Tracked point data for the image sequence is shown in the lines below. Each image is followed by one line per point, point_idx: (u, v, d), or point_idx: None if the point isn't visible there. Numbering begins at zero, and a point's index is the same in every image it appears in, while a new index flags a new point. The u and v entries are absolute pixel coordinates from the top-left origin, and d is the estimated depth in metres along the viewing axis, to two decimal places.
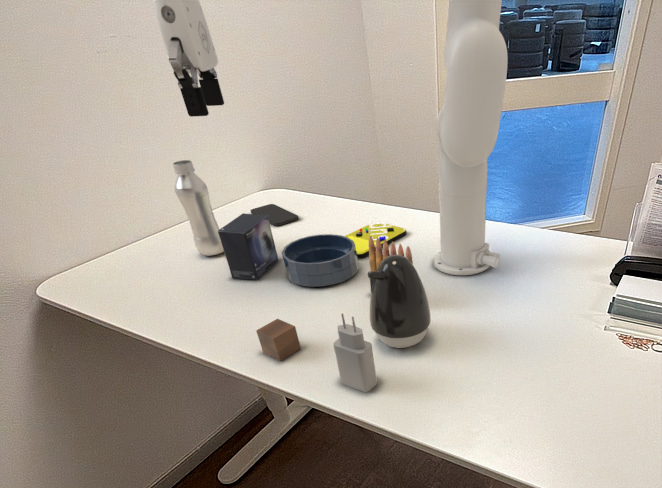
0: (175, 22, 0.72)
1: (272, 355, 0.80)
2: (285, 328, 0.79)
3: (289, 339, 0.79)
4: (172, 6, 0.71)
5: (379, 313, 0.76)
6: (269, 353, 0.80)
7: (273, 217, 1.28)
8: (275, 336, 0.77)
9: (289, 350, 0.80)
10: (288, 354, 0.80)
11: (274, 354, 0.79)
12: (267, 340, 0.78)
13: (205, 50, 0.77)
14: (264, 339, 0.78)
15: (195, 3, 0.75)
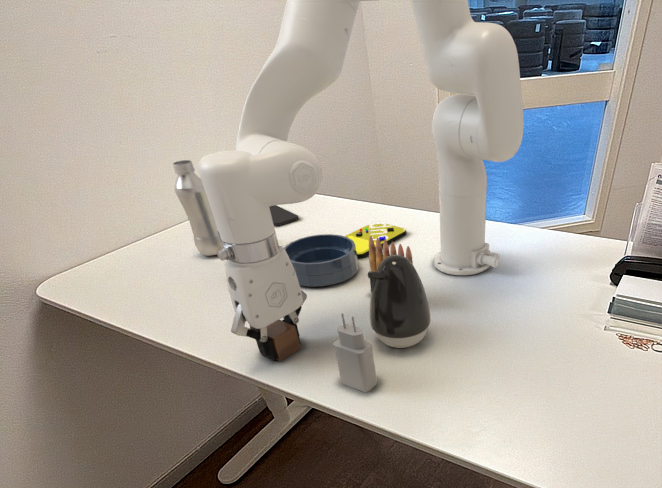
0: (236, 291, 0.70)
1: None
2: (285, 328, 0.79)
3: (289, 339, 0.79)
4: (234, 279, 0.68)
5: (379, 313, 0.76)
6: None
7: (273, 217, 1.28)
8: (275, 336, 0.77)
9: (289, 350, 0.80)
10: (288, 354, 0.80)
11: None
12: None
13: (273, 307, 0.73)
14: None
15: (272, 267, 0.71)
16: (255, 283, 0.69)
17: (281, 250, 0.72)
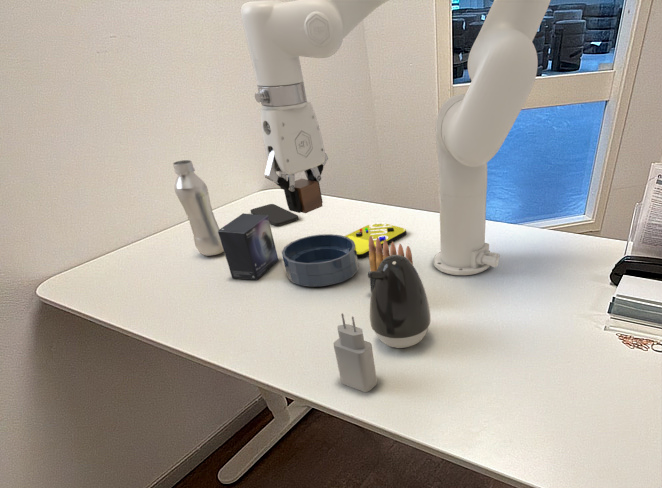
0: (270, 135, 0.80)
1: None
2: (309, 183, 0.89)
3: (313, 193, 0.90)
4: (269, 122, 0.79)
5: (379, 313, 0.76)
6: None
7: (273, 217, 1.28)
8: (301, 187, 0.87)
9: (312, 204, 0.91)
10: (312, 208, 0.91)
11: None
12: None
13: (301, 155, 0.84)
14: None
15: (301, 115, 0.81)
16: (286, 127, 0.80)
17: (308, 103, 0.82)
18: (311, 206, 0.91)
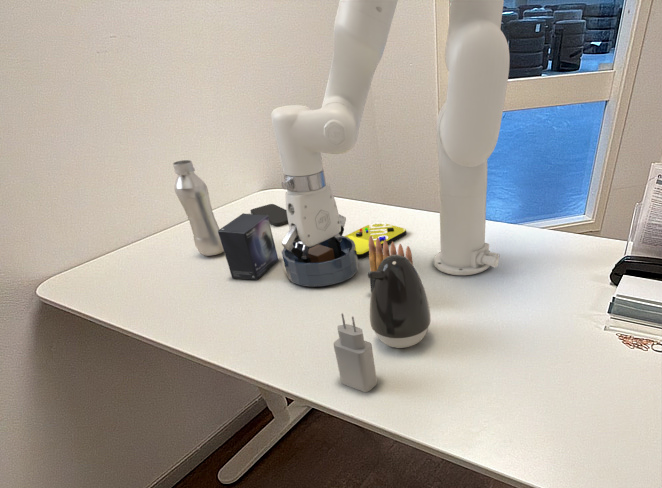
0: (294, 215, 0.92)
1: None
2: (325, 249, 1.01)
3: (328, 259, 1.01)
4: (293, 205, 0.91)
5: (379, 313, 0.76)
6: None
7: (273, 217, 1.28)
8: (318, 255, 0.99)
9: None
10: None
11: None
12: (311, 259, 1.00)
13: (320, 230, 0.96)
14: None
15: (320, 197, 0.93)
16: (308, 208, 0.92)
17: (326, 185, 0.94)
18: None
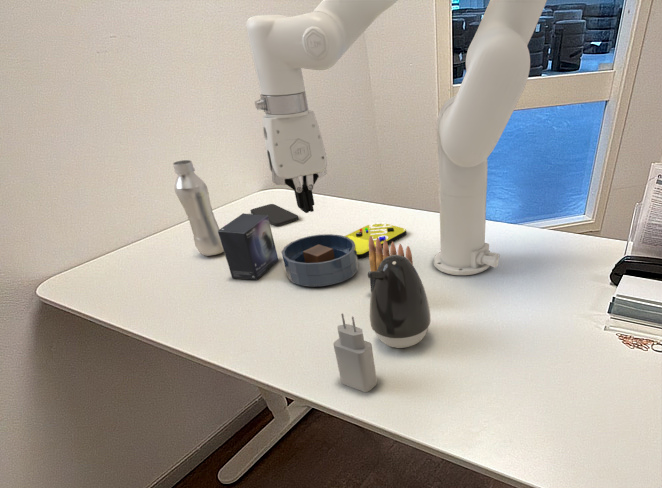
0: (267, 140, 0.85)
1: None
2: (325, 249, 1.01)
3: (328, 259, 1.01)
4: (266, 128, 0.84)
5: (379, 313, 0.76)
6: None
7: (273, 217, 1.28)
8: (318, 255, 0.99)
9: None
10: None
11: None
12: (311, 259, 1.00)
13: (296, 162, 0.88)
14: (309, 258, 1.00)
15: (299, 124, 0.85)
16: (281, 134, 0.84)
17: (310, 112, 0.85)
18: None
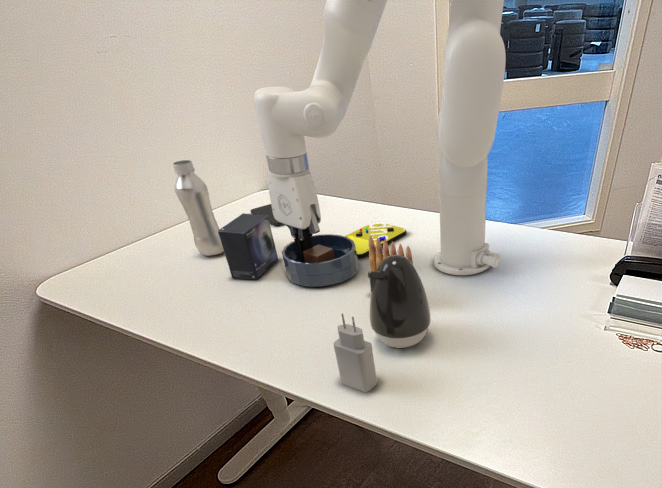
0: None
1: None
2: (325, 250, 1.01)
3: (328, 259, 1.01)
4: None
5: (379, 313, 0.76)
6: None
7: (273, 217, 1.28)
8: (318, 255, 0.99)
9: None
10: None
11: None
12: (311, 259, 1.00)
13: (282, 212, 0.96)
14: (309, 258, 1.00)
15: (282, 183, 0.92)
16: (272, 186, 0.94)
17: (294, 177, 0.90)
18: None
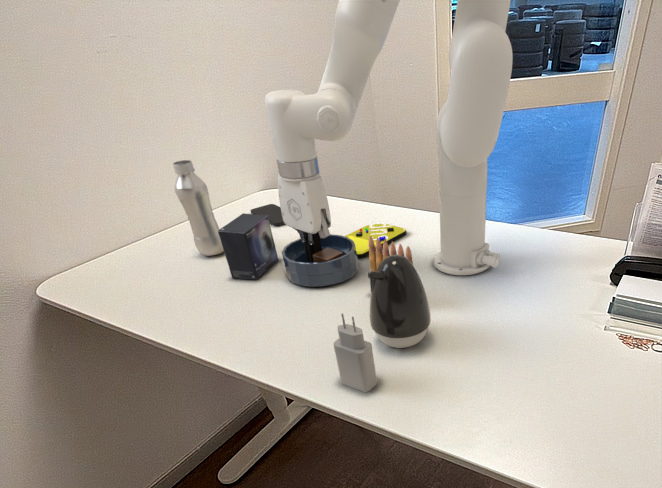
0: None
1: None
2: (335, 253, 0.99)
3: None
4: None
5: (379, 313, 0.76)
6: None
7: (273, 217, 1.28)
8: (328, 258, 0.97)
9: None
10: None
11: None
12: None
13: (292, 216, 0.95)
14: (319, 261, 0.99)
15: (292, 187, 0.91)
16: (282, 190, 0.93)
17: (304, 181, 0.89)
18: None
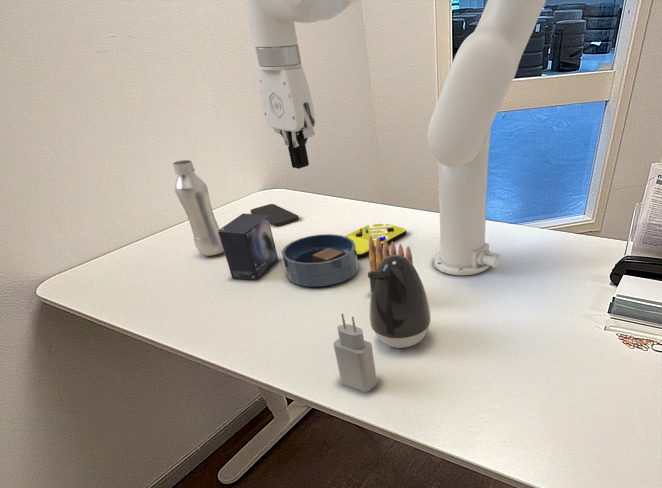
0: None
1: None
2: (335, 253, 0.99)
3: None
4: None
5: (379, 313, 0.76)
6: None
7: (273, 217, 1.28)
8: (328, 258, 0.97)
9: None
10: None
11: None
12: None
13: (274, 114, 0.92)
14: (319, 261, 0.99)
15: (273, 78, 0.87)
16: (263, 85, 0.89)
17: (285, 69, 0.85)
18: None
